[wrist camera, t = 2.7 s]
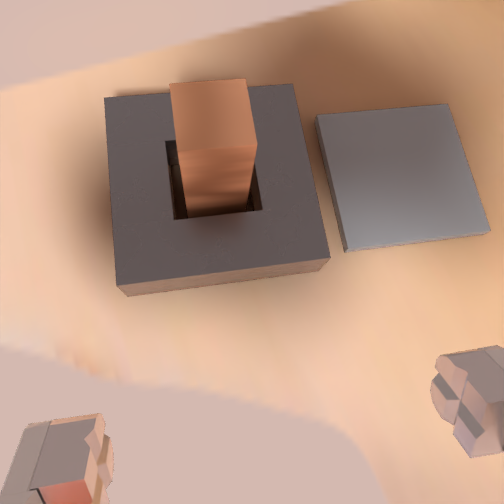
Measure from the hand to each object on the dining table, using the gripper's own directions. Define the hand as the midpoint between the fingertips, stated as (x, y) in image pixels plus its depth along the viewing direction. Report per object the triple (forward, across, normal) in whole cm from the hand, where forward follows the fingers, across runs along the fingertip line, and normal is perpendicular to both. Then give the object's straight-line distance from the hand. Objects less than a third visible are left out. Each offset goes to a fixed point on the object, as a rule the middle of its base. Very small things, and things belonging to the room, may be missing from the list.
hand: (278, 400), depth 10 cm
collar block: (+19, 0, +2) cm, 19 cm away
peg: (+19, 0, +2) cm, 19 cm away
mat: (+19, -13, +2) cm, 23 cm away
